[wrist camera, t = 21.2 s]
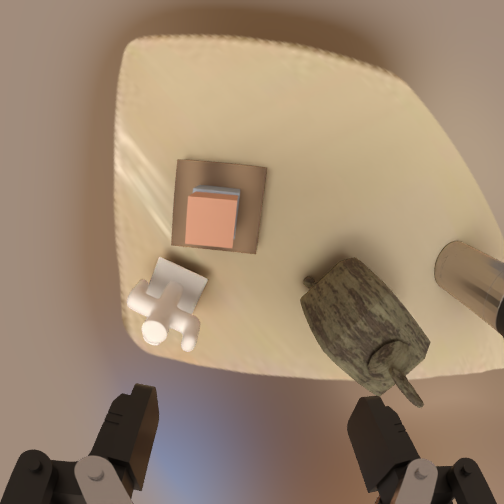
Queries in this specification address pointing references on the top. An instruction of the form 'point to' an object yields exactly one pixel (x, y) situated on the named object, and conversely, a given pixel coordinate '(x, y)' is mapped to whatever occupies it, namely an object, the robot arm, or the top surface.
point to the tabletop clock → (365, 328)
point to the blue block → (221, 191)
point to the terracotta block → (211, 219)
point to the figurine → (168, 303)
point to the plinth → (221, 176)
